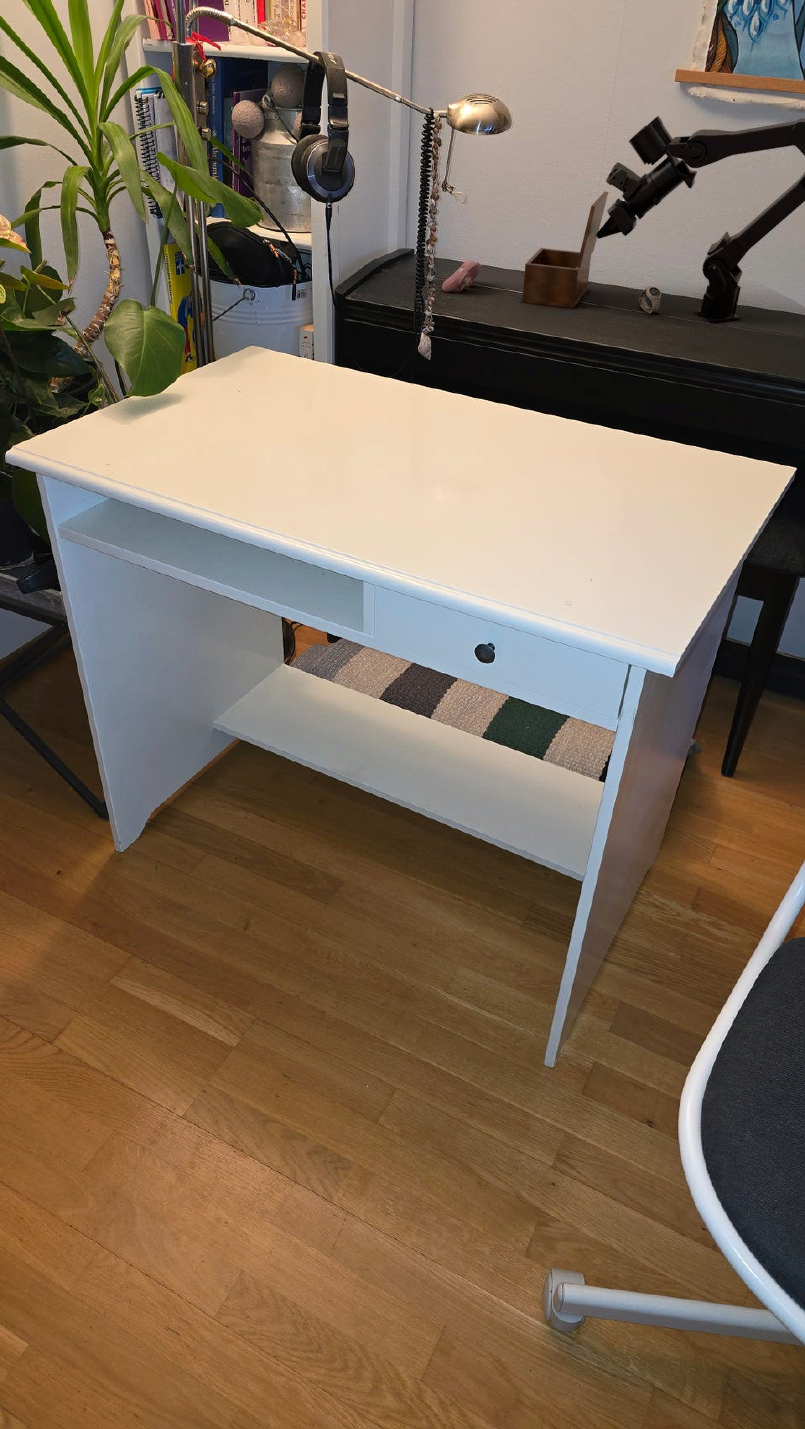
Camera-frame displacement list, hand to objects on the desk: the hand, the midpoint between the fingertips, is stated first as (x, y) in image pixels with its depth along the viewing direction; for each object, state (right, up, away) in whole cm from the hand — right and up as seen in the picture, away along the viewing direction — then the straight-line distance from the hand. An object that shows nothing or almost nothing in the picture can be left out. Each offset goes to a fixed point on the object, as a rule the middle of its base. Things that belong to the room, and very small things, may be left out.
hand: (597, 236), depth 210 cm
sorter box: (-7, -8, +11) cm, 15 cm away
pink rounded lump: (-28, -5, +15) cm, 32 cm away
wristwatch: (+12, -14, +4) cm, 19 cm away
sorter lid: (-2, +1, 0) cm, 2 cm away
